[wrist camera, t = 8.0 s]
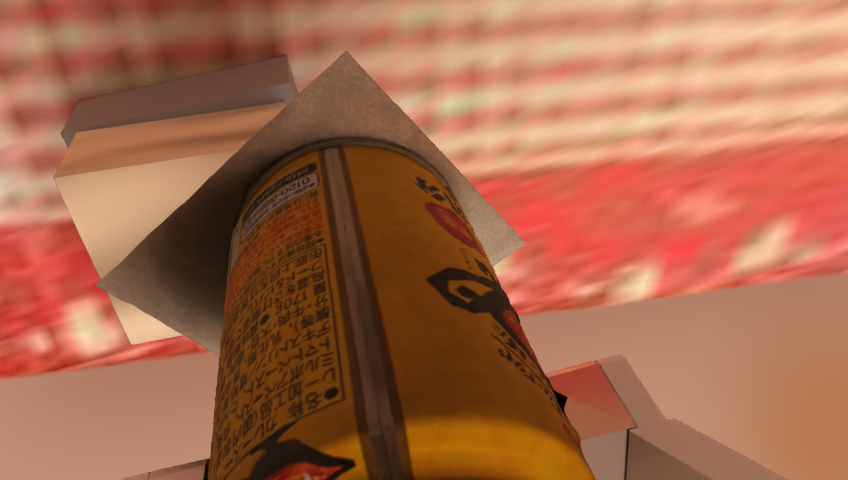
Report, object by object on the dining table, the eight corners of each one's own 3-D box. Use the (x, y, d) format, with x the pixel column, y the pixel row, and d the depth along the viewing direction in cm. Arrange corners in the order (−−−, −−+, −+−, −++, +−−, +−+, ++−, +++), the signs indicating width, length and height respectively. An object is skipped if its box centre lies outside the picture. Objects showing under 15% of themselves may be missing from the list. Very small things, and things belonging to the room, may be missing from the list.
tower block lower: (81, 97, 31) (60, 133, 28) (286, 51, 32) (289, 82, 29) (162, 258, 37) (152, 303, 34) (333, 216, 38) (340, 257, 35)
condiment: (524, 239, 18) (825, 738, 8) (306, 409, 20) (339, 982, 10) (345, 47, 14) (505, 537, 4) (97, 277, 16) (-179, 988, 6)
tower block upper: (76, 132, 28) (53, 178, 25) (285, 101, 29) (289, 141, 26) (143, 290, 33) (131, 344, 30) (318, 259, 34) (324, 308, 31)
